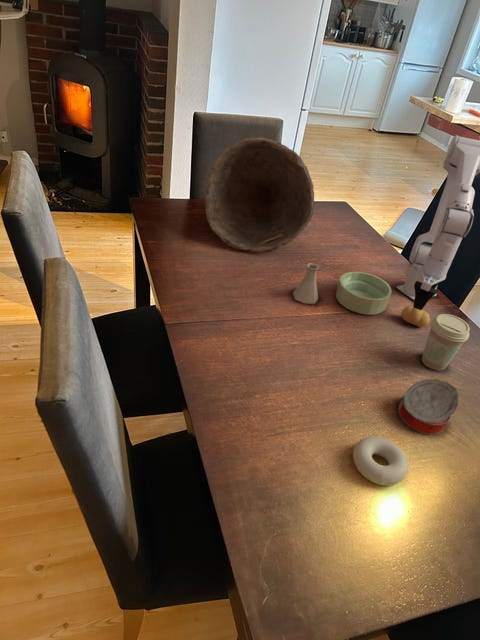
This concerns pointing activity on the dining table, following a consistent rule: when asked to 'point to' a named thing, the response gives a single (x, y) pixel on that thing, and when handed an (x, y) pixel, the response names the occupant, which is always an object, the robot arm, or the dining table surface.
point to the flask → (308, 286)
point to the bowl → (259, 195)
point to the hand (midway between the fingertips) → (421, 302)
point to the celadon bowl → (363, 293)
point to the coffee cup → (444, 340)
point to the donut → (376, 471)
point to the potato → (415, 316)
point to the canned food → (428, 405)
